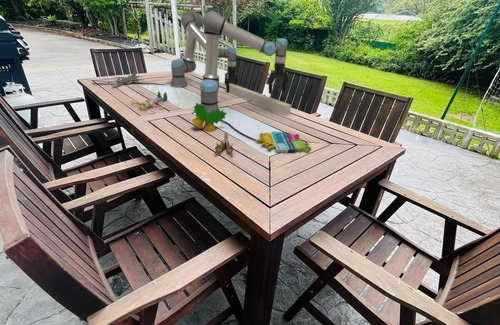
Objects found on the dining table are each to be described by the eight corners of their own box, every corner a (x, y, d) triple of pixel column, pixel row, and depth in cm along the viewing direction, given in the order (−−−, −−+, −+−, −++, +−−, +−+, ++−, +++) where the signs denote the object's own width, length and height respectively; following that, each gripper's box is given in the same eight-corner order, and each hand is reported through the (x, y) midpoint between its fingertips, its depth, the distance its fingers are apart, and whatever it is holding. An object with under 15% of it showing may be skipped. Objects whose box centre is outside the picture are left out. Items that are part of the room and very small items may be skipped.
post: (289, 114, 200) (291, 104, 196) (284, 115, 196) (285, 106, 193) (231, 90, 250) (231, 83, 247) (225, 91, 247) (226, 83, 243)
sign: (313, 150, 142) (258, 149, 139) (312, 153, 143) (258, 152, 140) (301, 132, 164) (254, 130, 161) (301, 134, 165) (254, 133, 162)
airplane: (108, 79, 258) (106, 69, 253) (142, 77, 271) (140, 67, 266) (110, 89, 230) (108, 78, 224) (148, 87, 243) (146, 76, 238)
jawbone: (234, 135, 144) (233, 125, 135) (233, 160, 138) (232, 151, 129) (217, 135, 144) (216, 125, 135) (216, 160, 138) (214, 150, 129)
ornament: (218, 133, 171) (224, 110, 169) (221, 134, 163) (227, 111, 161) (186, 125, 162) (192, 101, 160) (189, 126, 155) (195, 101, 153)
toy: (179, 93, 205) (158, 103, 179) (179, 102, 208) (159, 113, 183) (147, 89, 210) (122, 98, 184) (148, 98, 213) (124, 108, 188)
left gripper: (237, 64, 242) (236, 89, 254) (220, 65, 231) (220, 91, 243) (242, 66, 237) (241, 91, 249) (225, 67, 226) (224, 93, 238)
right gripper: (288, 60, 195) (285, 89, 205) (263, 62, 181) (261, 93, 191) (295, 62, 190) (292, 91, 200) (270, 64, 176) (267, 95, 186)
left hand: (230, 91), depth 246 cm, fingers closed on post, 6 cm apart
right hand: (276, 92), depth 196 cm, fingers open, 13 cm apart
